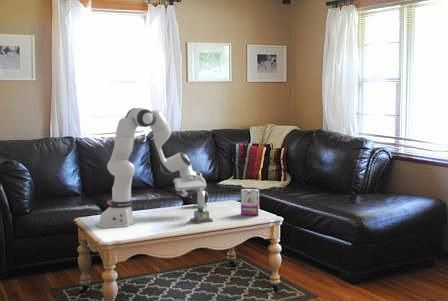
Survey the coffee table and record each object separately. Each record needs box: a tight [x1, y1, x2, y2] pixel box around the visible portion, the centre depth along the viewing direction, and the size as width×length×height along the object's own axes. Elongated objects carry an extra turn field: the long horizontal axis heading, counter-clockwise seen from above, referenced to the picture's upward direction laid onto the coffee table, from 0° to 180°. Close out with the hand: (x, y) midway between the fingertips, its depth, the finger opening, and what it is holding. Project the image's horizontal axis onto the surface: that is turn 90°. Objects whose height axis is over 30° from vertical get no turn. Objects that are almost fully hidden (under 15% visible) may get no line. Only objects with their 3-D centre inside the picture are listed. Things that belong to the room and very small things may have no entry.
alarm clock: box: [191, 189, 210, 207], centre depth 377 cm, size 11×5×16 cm, turn 84°
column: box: [196, 191, 206, 212], centre depth 336 cm, size 5×5×12 cm
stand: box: [190, 209, 214, 224], centre depth 337 cm, size 11×9×6 cm
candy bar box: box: [240, 188, 260, 217], centre depth 352 cm, size 11×5×16 cm, turn 76°
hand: (193, 194), depth 347 cm, fingers open, 8 cm apart
